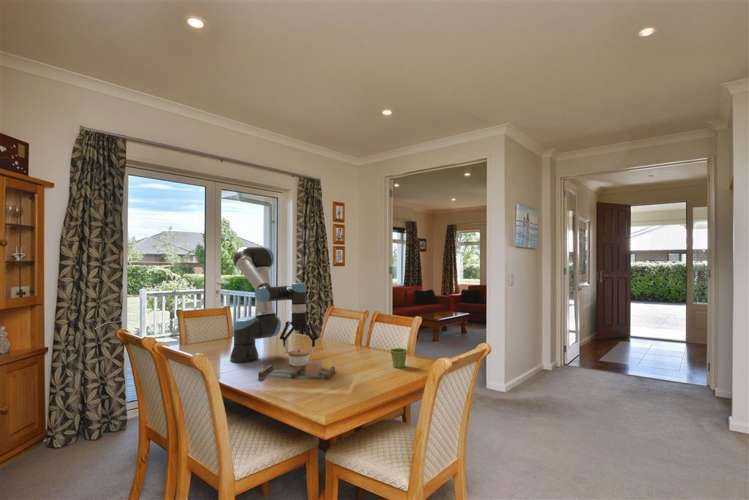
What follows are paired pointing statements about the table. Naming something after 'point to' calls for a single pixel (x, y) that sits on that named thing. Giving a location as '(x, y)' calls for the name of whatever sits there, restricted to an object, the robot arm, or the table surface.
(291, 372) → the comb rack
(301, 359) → the lidded jar
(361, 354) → the table surface
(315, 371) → the terracotta block
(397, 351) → the plant pot
